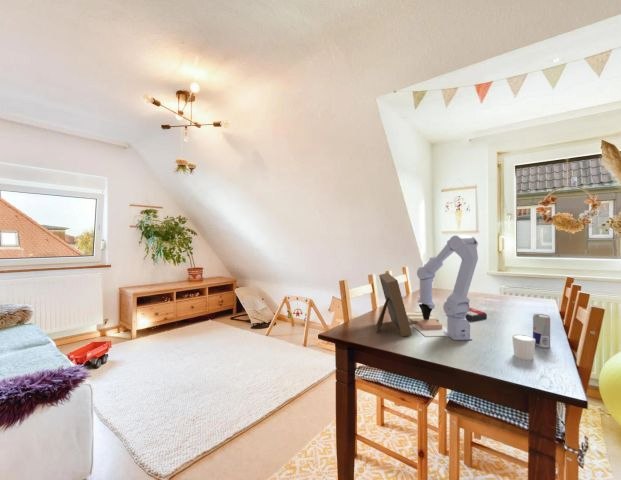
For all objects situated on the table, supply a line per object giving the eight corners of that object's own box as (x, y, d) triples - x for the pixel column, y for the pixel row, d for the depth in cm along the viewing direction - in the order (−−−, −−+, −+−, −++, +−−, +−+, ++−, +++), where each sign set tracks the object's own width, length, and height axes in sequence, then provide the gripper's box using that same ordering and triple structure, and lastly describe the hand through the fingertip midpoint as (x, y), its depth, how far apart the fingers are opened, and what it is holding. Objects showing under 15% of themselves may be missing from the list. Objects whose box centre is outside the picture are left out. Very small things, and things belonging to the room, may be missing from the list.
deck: (438, 323, 143) (438, 319, 143) (412, 324, 143) (412, 320, 143) (425, 315, 158) (425, 311, 158) (402, 315, 158) (402, 312, 158)
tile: (442, 329, 134) (442, 325, 134) (423, 329, 134) (422, 325, 134) (434, 323, 142) (434, 319, 142) (416, 324, 142) (416, 320, 142)
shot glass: (525, 352, 109) (525, 333, 109) (540, 360, 102) (540, 340, 102) (507, 352, 108) (507, 334, 108) (521, 361, 102) (521, 341, 101)
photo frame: (399, 321, 148) (398, 272, 147) (411, 336, 126) (410, 279, 126) (370, 321, 149) (369, 273, 148) (377, 337, 127) (376, 280, 127)
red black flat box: (472, 315, 145) (447, 306, 159) (471, 323, 146) (447, 314, 159) (487, 312, 150) (462, 304, 163) (486, 320, 150) (461, 311, 164)
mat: (457, 336, 126) (457, 335, 126) (425, 336, 126) (425, 336, 126) (440, 324, 142) (440, 323, 142) (411, 324, 142) (411, 324, 142)
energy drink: (533, 342, 118) (533, 312, 118) (550, 345, 115) (550, 315, 114) (532, 346, 114) (532, 316, 114) (550, 349, 111) (550, 318, 110)
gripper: (412, 289, 149) (412, 315, 149) (423, 295, 134) (424, 324, 135) (426, 288, 149) (426, 314, 149) (438, 294, 134) (439, 323, 135)
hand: (426, 319), depth 142 cm, fingers closed
